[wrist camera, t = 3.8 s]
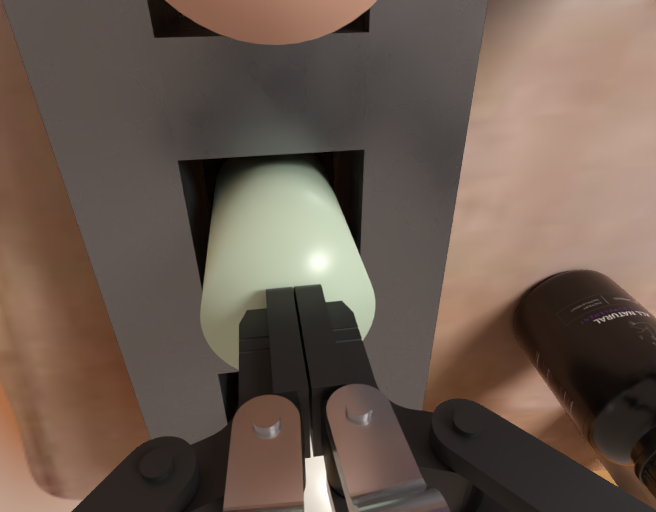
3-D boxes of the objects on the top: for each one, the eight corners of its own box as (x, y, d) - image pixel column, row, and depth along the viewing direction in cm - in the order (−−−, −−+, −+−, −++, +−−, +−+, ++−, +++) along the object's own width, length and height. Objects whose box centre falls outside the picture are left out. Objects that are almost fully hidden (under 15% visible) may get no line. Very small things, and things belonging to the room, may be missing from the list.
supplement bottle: (591, 244, 27) (798, 410, 17) (623, 309, 30) (811, 479, 20) (490, 309, 28) (625, 497, 18) (532, 364, 32) (665, 547, 22)
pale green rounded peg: (329, 239, 21) (371, 368, 14) (222, 248, 20) (213, 387, 14) (329, 135, 18) (380, 233, 12) (206, 142, 18) (186, 250, 11)
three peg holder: (385, 379, 30) (413, 461, 25) (182, 405, 29) (170, 498, 24) (447, -300, 14) (559, -443, 9) (-10, -333, 12) (-178, -531, 7)
